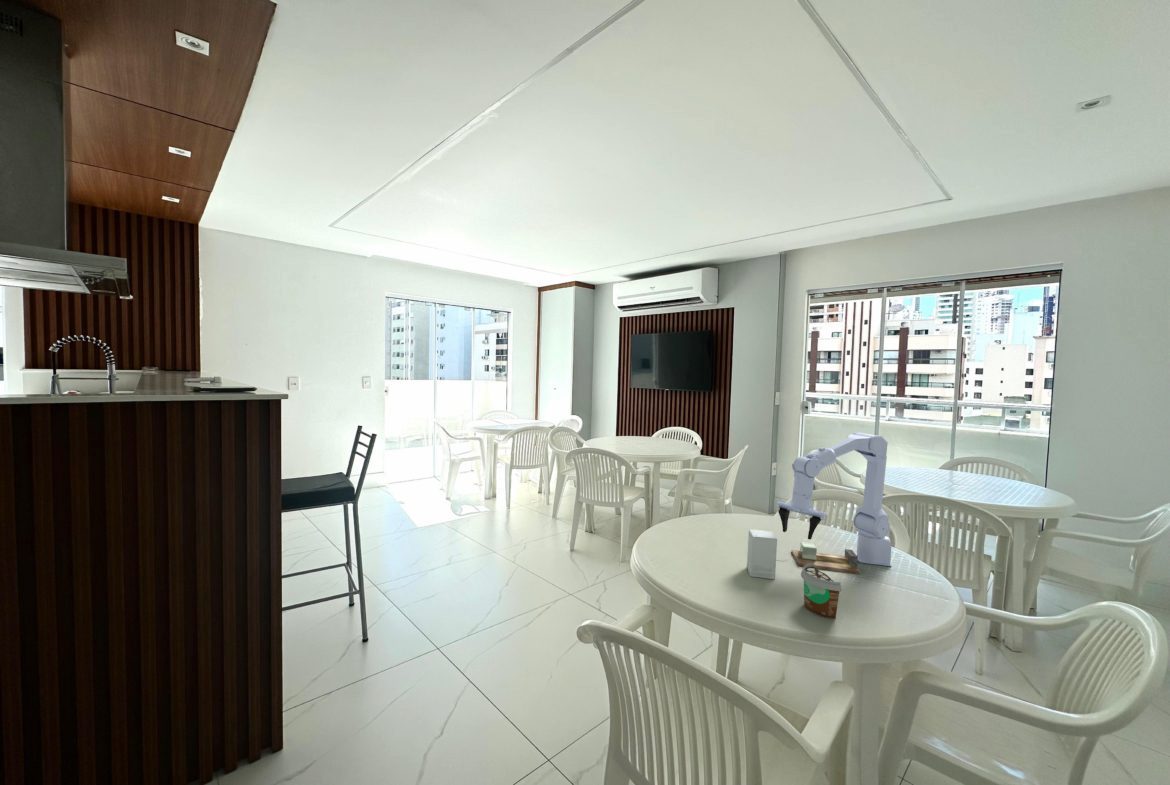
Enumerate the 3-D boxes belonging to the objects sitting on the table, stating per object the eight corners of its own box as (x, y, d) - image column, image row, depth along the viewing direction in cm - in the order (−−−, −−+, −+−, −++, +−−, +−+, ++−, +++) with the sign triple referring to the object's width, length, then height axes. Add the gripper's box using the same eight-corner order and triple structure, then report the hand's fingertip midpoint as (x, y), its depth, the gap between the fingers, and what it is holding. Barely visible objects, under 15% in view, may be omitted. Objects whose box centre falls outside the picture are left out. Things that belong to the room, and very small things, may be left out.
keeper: (812, 554, 154) (813, 543, 153) (816, 559, 149) (816, 548, 149) (800, 553, 154) (800, 542, 154) (803, 558, 150) (803, 546, 150)
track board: (847, 559, 154) (848, 546, 154) (859, 574, 143) (860, 560, 142) (791, 552, 159) (792, 539, 158) (798, 566, 147) (799, 552, 147)
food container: (790, 597, 125) (792, 562, 125) (810, 597, 126) (813, 562, 125) (816, 622, 113) (818, 583, 113) (839, 621, 114) (841, 583, 113)
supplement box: (775, 579, 136) (777, 538, 136) (750, 576, 138) (752, 536, 137) (770, 569, 144) (772, 530, 143) (746, 566, 145) (748, 528, 144)
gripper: (775, 489, 148) (770, 530, 148) (824, 501, 138) (818, 544, 139) (782, 487, 153) (776, 526, 153) (829, 498, 144) (823, 540, 144)
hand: (796, 535), depth 146 cm, fingers open, 7 cm apart
